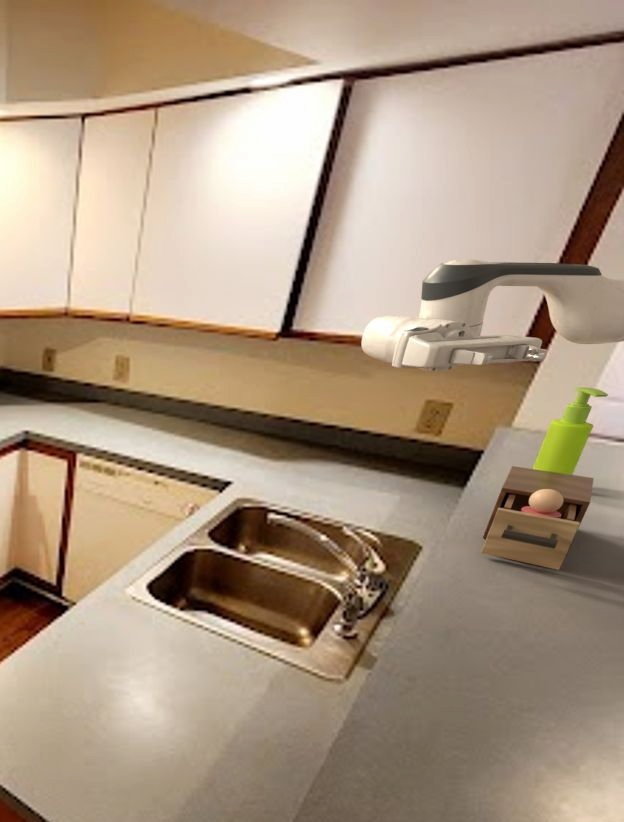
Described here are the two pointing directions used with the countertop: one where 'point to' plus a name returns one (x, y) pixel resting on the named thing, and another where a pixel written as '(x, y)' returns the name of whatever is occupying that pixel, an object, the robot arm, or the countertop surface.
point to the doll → (545, 503)
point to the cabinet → (534, 480)
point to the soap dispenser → (567, 435)
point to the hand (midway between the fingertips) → (515, 357)
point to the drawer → (531, 533)
